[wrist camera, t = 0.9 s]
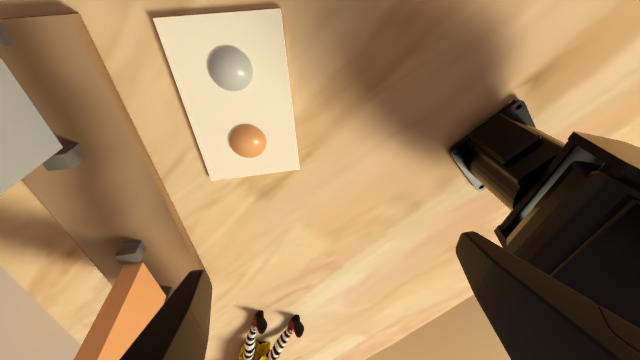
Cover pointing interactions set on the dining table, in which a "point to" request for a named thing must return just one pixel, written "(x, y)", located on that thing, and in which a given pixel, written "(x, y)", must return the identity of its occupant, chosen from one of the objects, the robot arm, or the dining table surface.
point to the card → (234, 89)
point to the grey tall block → (21, 133)
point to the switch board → (94, 154)
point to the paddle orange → (123, 314)
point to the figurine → (258, 356)
